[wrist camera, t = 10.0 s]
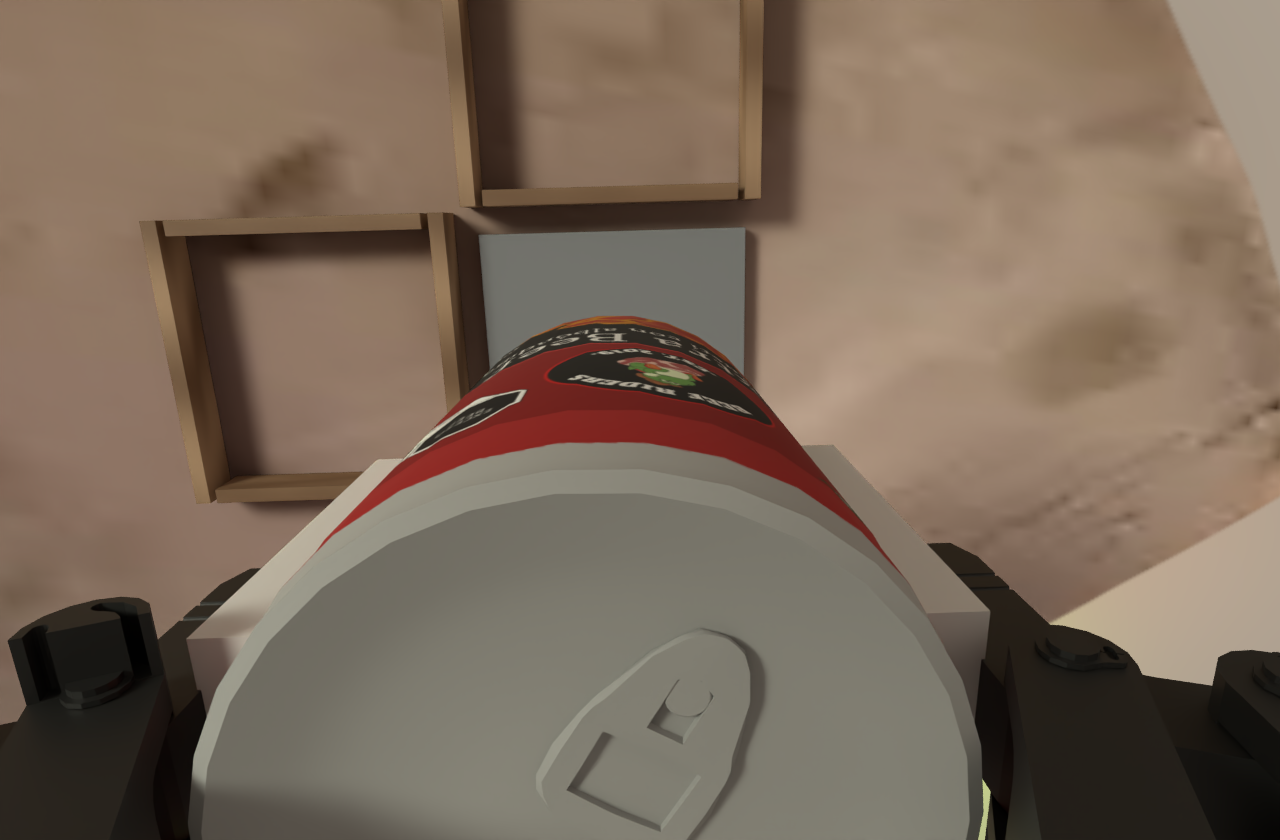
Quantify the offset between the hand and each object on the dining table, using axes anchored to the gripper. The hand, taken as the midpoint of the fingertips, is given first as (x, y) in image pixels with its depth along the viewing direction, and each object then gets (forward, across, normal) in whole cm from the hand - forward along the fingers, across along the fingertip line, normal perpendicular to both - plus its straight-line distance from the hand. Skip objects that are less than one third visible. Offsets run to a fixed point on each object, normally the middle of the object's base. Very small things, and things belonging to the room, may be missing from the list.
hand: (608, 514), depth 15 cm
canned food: (+3, 0, 0) cm, 3 cm away
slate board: (+17, 0, 0) cm, 17 cm away
